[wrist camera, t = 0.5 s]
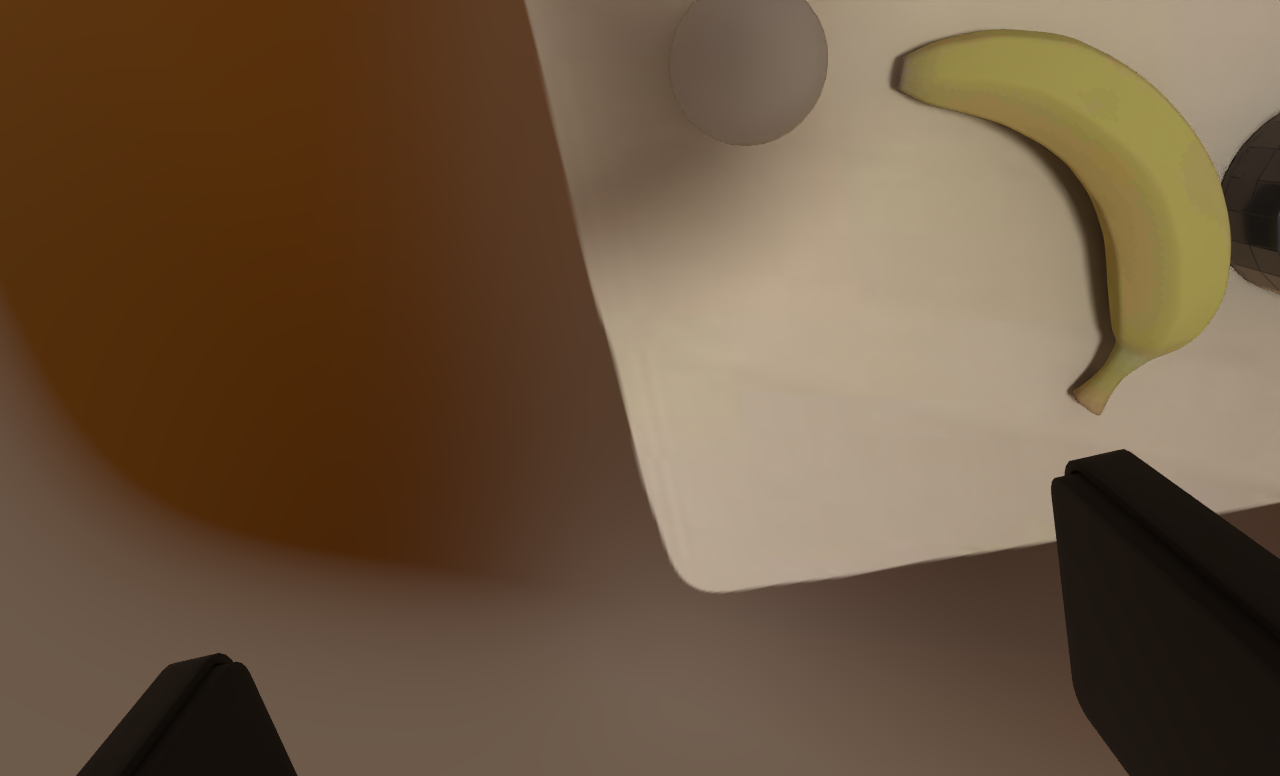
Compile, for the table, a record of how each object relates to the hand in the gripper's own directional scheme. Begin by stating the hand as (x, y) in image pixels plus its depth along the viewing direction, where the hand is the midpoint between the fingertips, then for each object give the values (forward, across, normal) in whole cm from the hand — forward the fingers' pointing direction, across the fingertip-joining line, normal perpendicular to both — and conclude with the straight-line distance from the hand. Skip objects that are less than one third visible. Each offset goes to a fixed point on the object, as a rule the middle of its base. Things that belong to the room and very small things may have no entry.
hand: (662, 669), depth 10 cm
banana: (+36, -20, +5) cm, 41 cm away
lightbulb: (+36, -6, -6) cm, 37 cm away
